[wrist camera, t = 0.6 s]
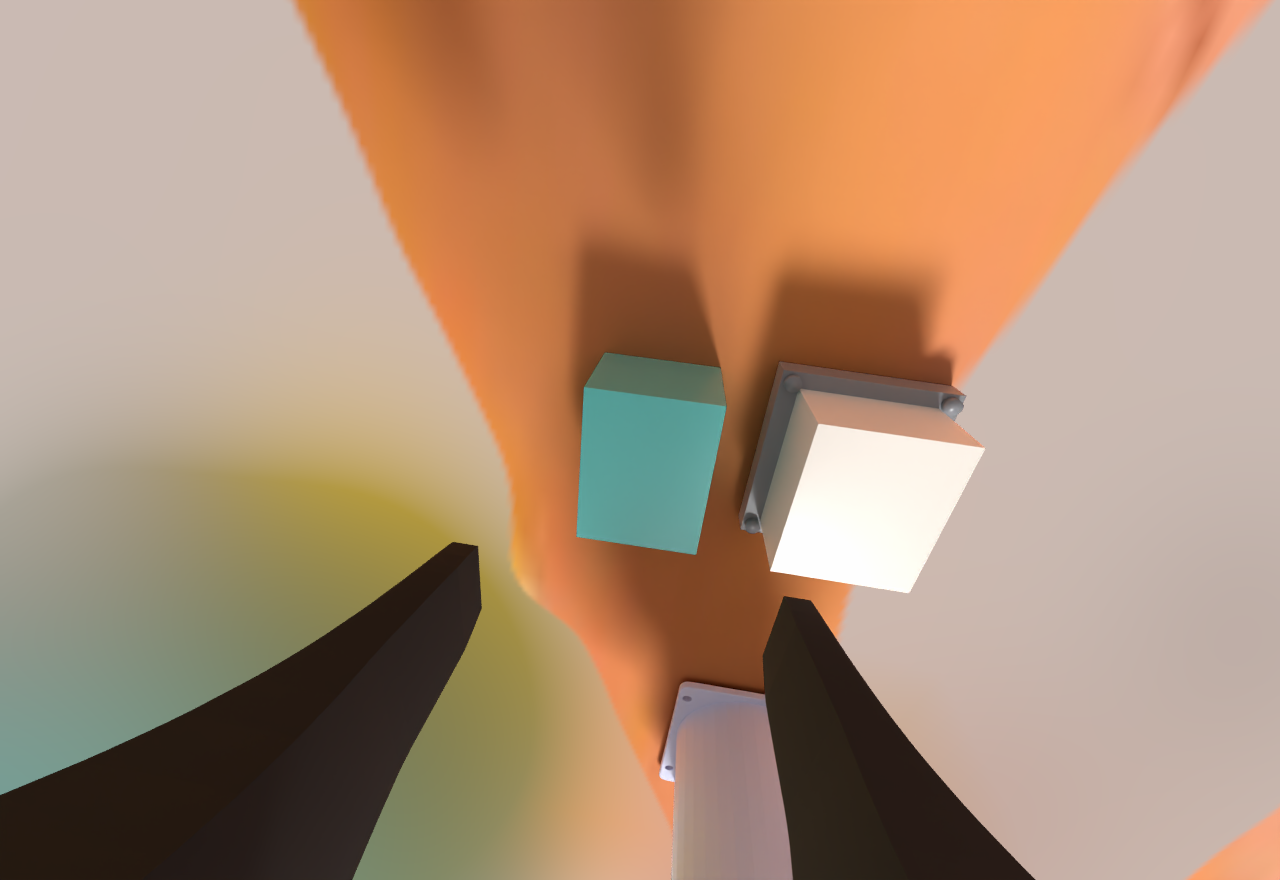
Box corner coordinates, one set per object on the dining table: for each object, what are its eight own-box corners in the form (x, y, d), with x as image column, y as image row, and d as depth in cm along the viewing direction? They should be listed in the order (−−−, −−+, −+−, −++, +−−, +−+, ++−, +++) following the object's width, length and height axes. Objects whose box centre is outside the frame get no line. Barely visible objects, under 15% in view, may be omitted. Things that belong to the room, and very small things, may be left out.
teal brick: (695, 494, 21) (695, 554, 17) (596, 480, 21) (576, 536, 17) (720, 366, 18) (726, 406, 14) (605, 351, 18) (584, 386, 15)
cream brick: (879, 539, 19) (908, 593, 17) (759, 520, 20) (770, 570, 17) (938, 408, 17) (985, 447, 14) (799, 388, 17) (818, 423, 14)
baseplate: (882, 538, 21) (894, 558, 19) (738, 515, 21) (741, 533, 20) (952, 385, 17) (970, 399, 16) (779, 361, 17) (785, 372, 16)
